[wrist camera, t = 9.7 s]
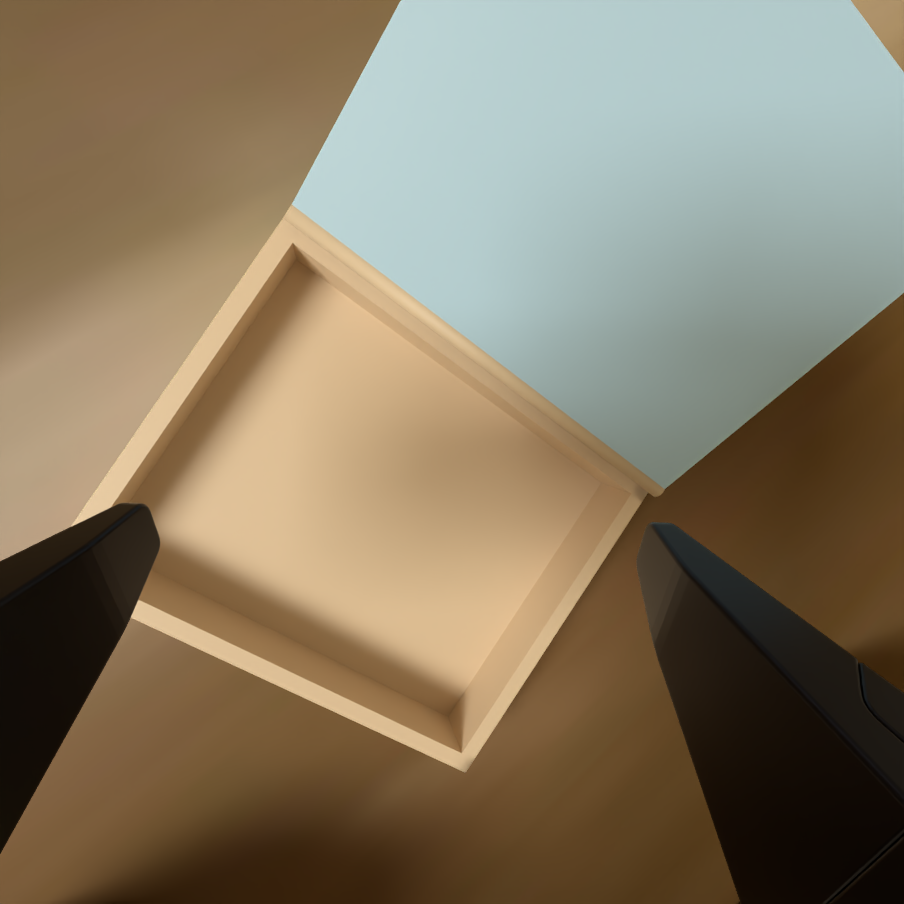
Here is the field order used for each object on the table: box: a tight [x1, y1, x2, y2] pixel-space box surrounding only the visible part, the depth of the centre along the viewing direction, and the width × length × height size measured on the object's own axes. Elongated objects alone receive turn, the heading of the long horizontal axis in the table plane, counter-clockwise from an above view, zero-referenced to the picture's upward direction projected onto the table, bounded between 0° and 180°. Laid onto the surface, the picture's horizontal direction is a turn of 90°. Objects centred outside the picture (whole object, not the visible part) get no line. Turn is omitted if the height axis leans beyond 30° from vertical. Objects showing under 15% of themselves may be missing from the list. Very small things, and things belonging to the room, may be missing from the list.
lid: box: [285, 0, 904, 497], centre depth 14 cm, size 12×16×1 cm
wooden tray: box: [71, 216, 648, 773], centre depth 19 cm, size 13×16×2 cm
